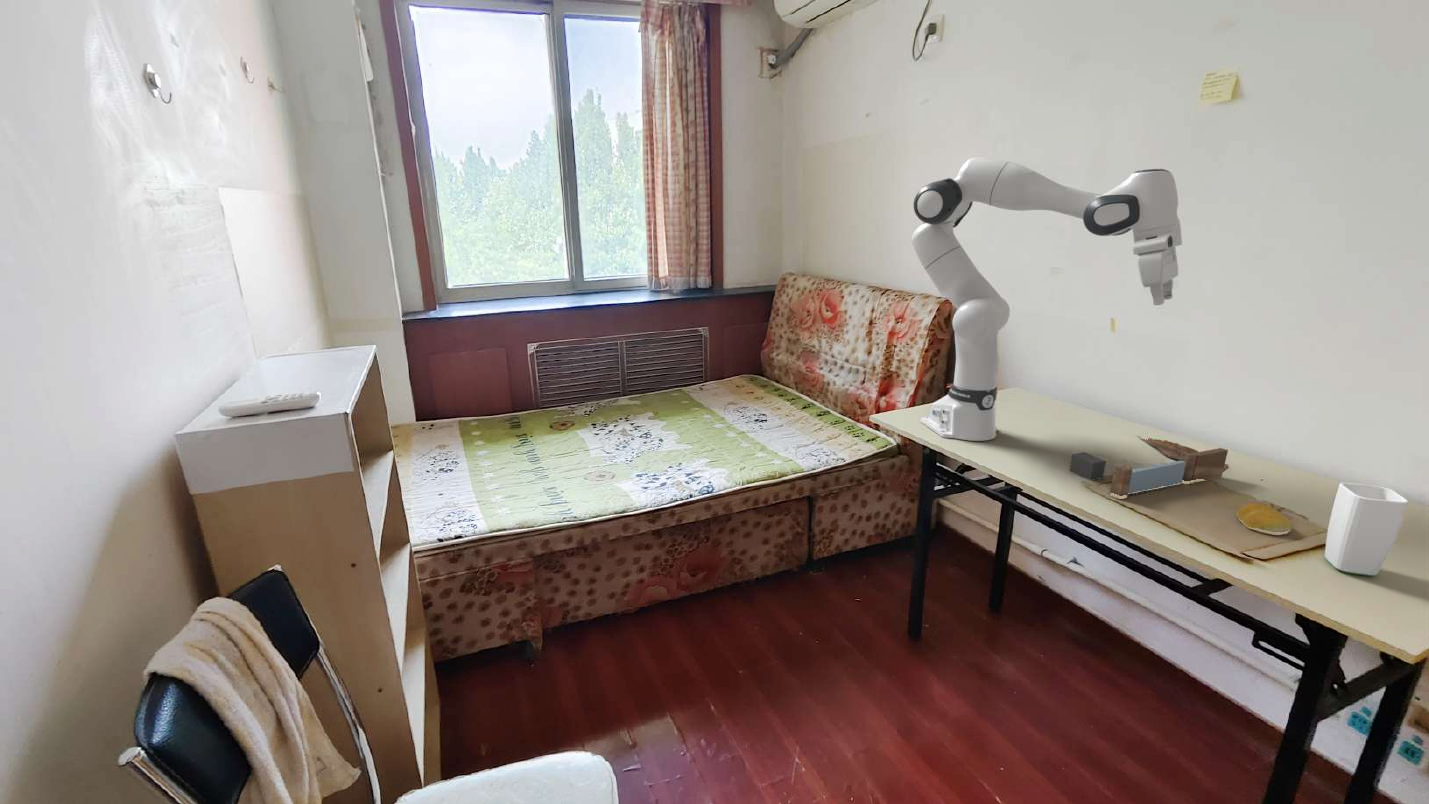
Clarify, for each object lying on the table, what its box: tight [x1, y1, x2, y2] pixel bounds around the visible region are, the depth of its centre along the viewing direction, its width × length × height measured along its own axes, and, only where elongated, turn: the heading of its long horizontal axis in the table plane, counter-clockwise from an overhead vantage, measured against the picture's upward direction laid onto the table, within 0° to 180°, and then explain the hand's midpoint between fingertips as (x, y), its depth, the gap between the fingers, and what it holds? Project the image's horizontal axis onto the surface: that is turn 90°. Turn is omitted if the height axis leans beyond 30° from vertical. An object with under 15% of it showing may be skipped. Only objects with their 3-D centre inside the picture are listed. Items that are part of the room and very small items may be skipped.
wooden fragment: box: [1137, 435, 1229, 472], centre depth 168 cm, size 26×11×1 cm, turn 5°
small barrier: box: [1109, 447, 1229, 496], centre depth 147 cm, size 2×33×7 cm, turn 109°
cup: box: [1324, 482, 1410, 577], centre depth 112 cm, size 7×7×15 cm
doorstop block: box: [1068, 451, 1107, 481], centre depth 155 cm, size 6×4×4 cm, turn 19°
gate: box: [1128, 460, 1186, 493], centre depth 146 cm, size 1×17×6 cm, turn 109°
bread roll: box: [1235, 503, 1293, 532], centre depth 129 cm, size 8×9×4 cm
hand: (1163, 301), depth 147 cm, fingers open, 8 cm apart
